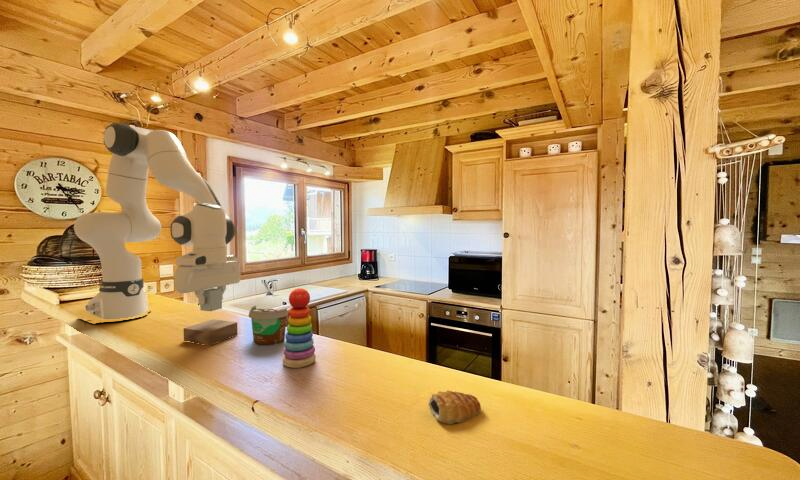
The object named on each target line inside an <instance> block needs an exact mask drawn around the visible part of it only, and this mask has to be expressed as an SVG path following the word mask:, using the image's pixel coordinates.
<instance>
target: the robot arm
mask: <svg viewBox="0 0 800 480" xmlns="http://www.w3.org/2000/svg"><path fill="white" fill-rule="evenodd" d="M103 132H104V133H103V143H104V146H105V148H106V149H107V151H109V152H110V153H111V154H112V155H111V158H110V161H109V165H108V169H107V170H108V171H107V180H106V185H105V186H106V187H105V193H106V195H107V197H108V198H109V199H110V200H111V201H113V202H115V203H117V204H118V205H119V206H120V212H110V211H109V212H106V211H105V212H103V211H97V212H90V213H84V214H80V216H78V217H77V218H76V220H75V222H74V223H73V224H74V225H73V231H74V234H75V235H76V236H77V238H78V239H80V240H81V241H82V242H84V243H86V244H88V245H89V246H90V247H91V248H92V249H93V250H94V251H95V252H96V254H97V256H98V257H99V261H100V266H101V276H102V279H101V280H102V281H101V282H98V286H99V289H98V291H99V292H98V293H97V294H95V296H93V297H92V298H91V299H89V301H87V304H85V307H84V308H85V310H86V314H87V313H90V314H92V315H95V316H97V317H100V318H102V319H120V318H128V317H133V316H137V315H140V314H143V313H145V312H146V311H147V310H148V309H149V304H148V297H147V296H148V295H147V292H146V291H145V290H144V289H143V288H145V285H144V284H145V281H144V278H143V273H142V268H143V267H142V266H143V265H142V259H141V257H139V256H138V255H137V254H135V253H133V252H130V251H128V250H127V248H126V245H125V243H143V242H149V241H153V240H156V239H158V237H159V236H160V234H161V232H162V224H161V222H160V220H159V219H158V218H157V217H156V216H155V215H154V214H153V213H152V212H151V210H150V208H149V206H148V203H147V189H148V182H149V181H148V180H149V171H150V172H151V174H152V177H154V179H155V180H156V181H157V182H158V183H160V184H161V185H162V186H164V187H167V188H169V189H172V190H174V191H178V192H181V193H183V194H185V195H188V196H189V197H192V198H193V199H194V200H196V201H197V202H198V203H196V204H194V206H193V208H192V209H191V210H190V211H189V212H187V213H185V214H183V215H182V214H181V215H178V216H176V217H175V218H174V219H173V220H172V222H171V224H170V236H171V238H172V240H173V241H175V243H176V244H178V245H182V246H192V251H190V252H188V253H186V254H183V255H181V256H179V257H177V258H176V259H175V264H176V266H177V267H176V268H175V270H174V277H173V289H174V290H175V291H176V293H180V294H189V293H193V292H194V295H195V297H196V298H197V300H198V305H199V306H200V305H204V304H207V298H204V296H203V294H202V293H204V290H205V289H210V288H216V289H222V301H223V300H224V297H223V296H224V294H225V292H226V290H227V286H228V285H234V284H239V283H240V282H241V279H242V276H241V275H242V274H241V268H240V264H239V258H238V257H237V256H235V255H234V254H231V255H228V245H229V243H230V242H231V241H232V240H233V239H234V237H235V236H236V233H237V232H236V227H235V223H234V222H233V220H232V219H231V217H229V215H228V214H227V213H226V212H225V209H224V207H223V206H222V205H221V204H220V203H221V202H220V201H219V200H218V198H217V196H216V194H215V192H214V191H213V188H212V187H211V186H210V184H209V183H208V180H207V179H205V178H204V177H203V176H201V175H200V173H198V172H197V171H196V169H195V168H194V167H193V165H192V164H191V163H190V160H189V158H188V155H187V153H186V151H185V149H184V147H183V145H182V143H181V141H180V139H179V138H177V136H176V135H175V134H174V133H172V132H170V131H168V130H164V129H150V128H143V127H139V126H134V125H129V124H127V123H123V122H122V123H121V122H114V123H110V124H109V125H108V126H107V127H106V128H105V130H104V131H103Z"/></svg>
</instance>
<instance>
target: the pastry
mask: <svg viewBox="0 0 800 480" xmlns="http://www.w3.org/2000/svg"><path fill="white" fill-rule="evenodd" d="M428 407H429V409H431V410H430V411H429V412H430V413H431V414H432V416H434V417H435V418H436V420H437V421H439V423H443V424H446V425H453V424H454V423H458V424H460V423H463V422H465V421H468V420H470V419H473V418H475V417H477V416H478V415H479V414H480V412H481V409H482V407H481V403H480V401H479V400H478V398H477V397H476V396H475V395H472V394H470V393H463V392H459V391H452V390H449V389H448V390H446V391H438V392H437V393H433V394H432V395H431V397H429V400H428Z"/></svg>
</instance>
